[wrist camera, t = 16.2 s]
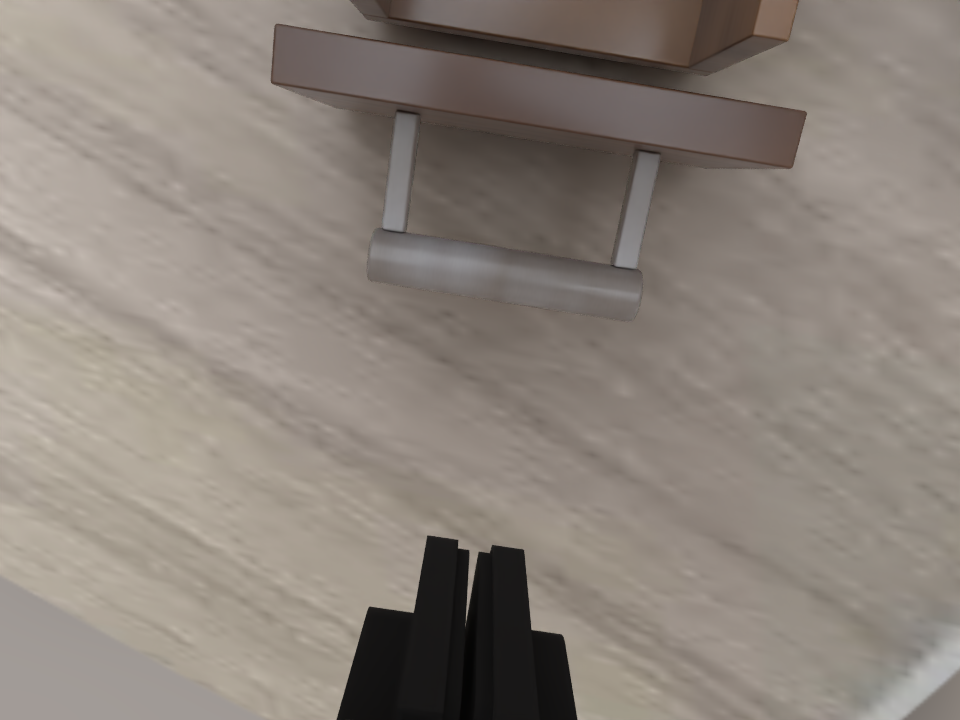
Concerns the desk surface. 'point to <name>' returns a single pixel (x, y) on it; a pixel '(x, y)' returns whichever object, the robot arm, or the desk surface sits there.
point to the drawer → (547, 120)
